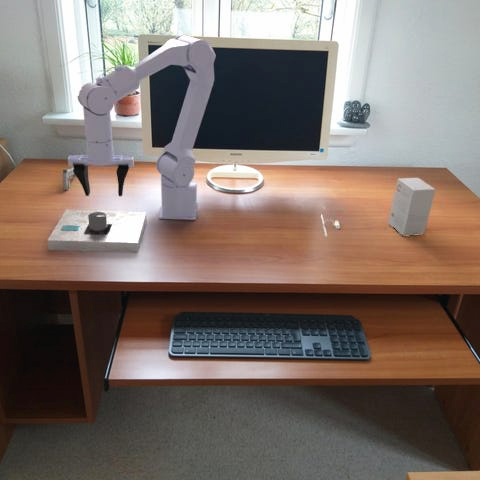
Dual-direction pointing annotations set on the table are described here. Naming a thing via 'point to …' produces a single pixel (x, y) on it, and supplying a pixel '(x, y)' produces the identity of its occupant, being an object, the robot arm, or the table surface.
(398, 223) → the small box
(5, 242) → the table surface
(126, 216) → the plate
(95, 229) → the cylinder
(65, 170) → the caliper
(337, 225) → the picture light
